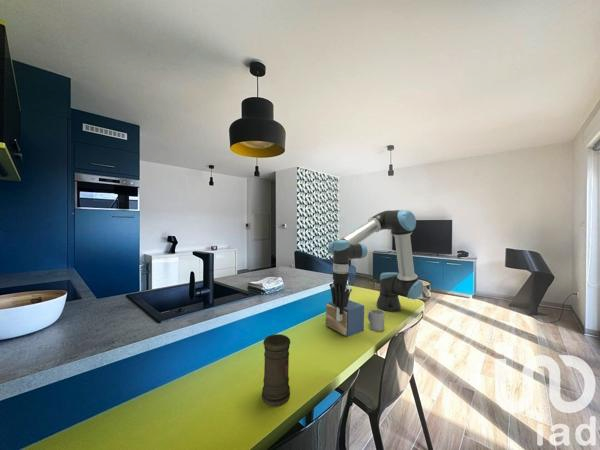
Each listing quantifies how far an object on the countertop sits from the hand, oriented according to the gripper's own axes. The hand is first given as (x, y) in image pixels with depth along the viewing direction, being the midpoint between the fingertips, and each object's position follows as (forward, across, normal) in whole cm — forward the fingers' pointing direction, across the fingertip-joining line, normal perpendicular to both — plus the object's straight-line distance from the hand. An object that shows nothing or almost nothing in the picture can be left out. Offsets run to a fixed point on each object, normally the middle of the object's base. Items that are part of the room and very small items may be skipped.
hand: (339, 320), depth 118 cm
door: (+7, -5, +2) cm, 9 cm away
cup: (+8, +4, +23) cm, 25 cm away
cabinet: (+8, -4, +9) cm, 13 cm away
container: (+8, +18, -46) cm, 50 cm away
